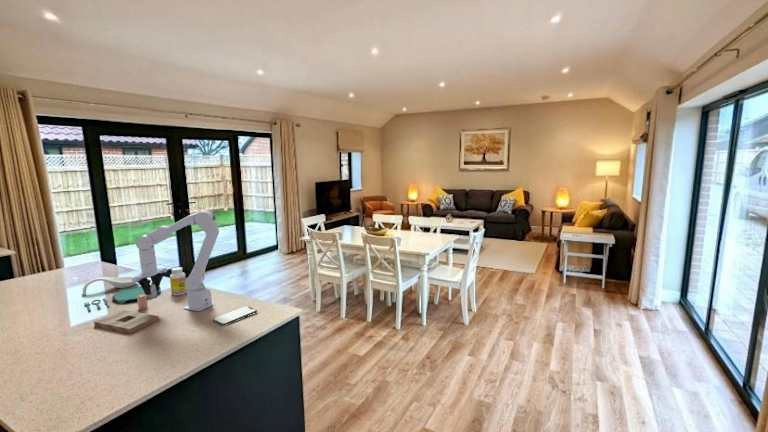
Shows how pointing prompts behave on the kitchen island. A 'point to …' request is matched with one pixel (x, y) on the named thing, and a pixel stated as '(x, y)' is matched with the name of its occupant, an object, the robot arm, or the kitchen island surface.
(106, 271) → the kitchen island surface
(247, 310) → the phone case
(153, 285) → the steel pin
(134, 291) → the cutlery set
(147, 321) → the wooden board with hole
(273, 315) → the kitchen island surface
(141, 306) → the terracotta pin
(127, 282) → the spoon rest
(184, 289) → the supplement bottle
